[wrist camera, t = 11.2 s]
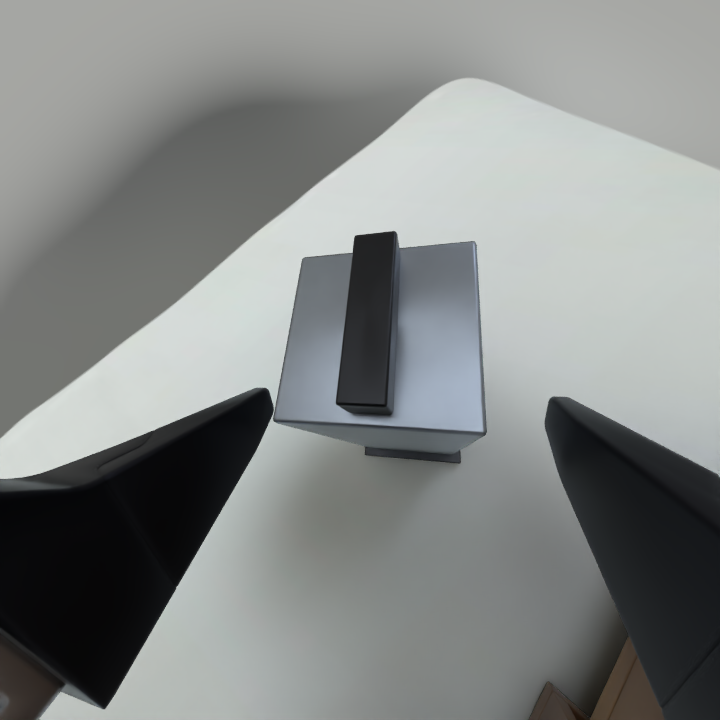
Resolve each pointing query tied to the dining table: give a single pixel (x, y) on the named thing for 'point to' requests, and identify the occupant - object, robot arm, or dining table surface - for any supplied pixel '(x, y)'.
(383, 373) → the grey box with handle
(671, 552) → the robot arm
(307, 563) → the dining table surface
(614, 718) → the drawer
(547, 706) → the cabinet
